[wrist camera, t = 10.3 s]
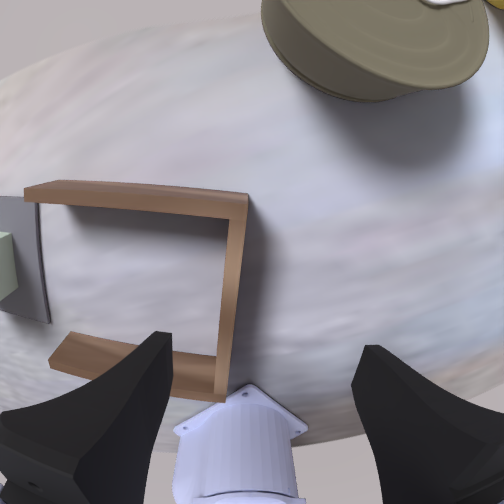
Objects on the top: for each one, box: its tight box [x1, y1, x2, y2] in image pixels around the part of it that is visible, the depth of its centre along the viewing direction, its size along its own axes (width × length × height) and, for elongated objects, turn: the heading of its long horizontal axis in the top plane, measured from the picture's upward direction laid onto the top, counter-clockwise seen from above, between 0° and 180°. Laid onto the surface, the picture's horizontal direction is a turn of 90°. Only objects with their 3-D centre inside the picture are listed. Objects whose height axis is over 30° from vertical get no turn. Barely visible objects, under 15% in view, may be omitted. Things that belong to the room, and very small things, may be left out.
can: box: [261, 0, 489, 102], centre depth 12 cm, size 12×12×7 cm
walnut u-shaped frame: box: [24, 180, 249, 403], centre depth 18 cm, size 13×13×4 cm
